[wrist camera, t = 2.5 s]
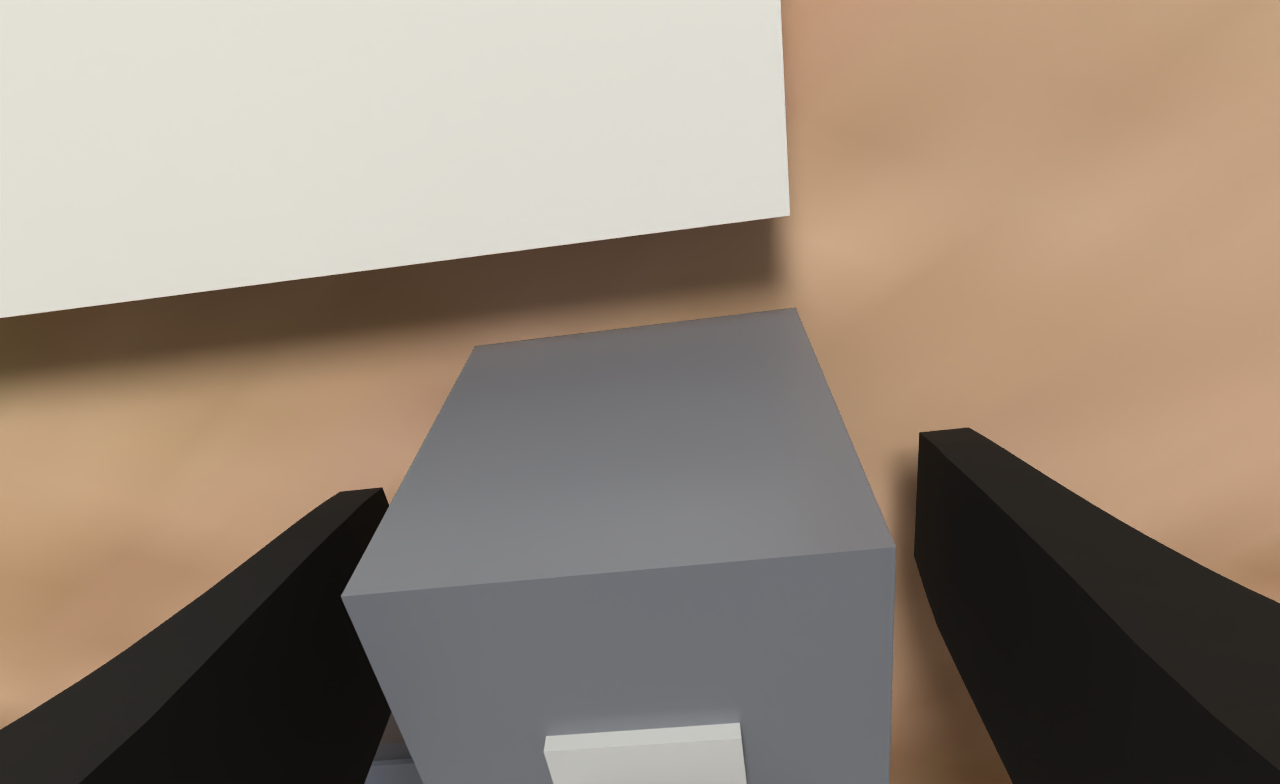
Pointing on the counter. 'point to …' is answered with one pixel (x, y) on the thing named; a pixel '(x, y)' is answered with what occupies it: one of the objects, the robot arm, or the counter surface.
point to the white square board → (367, 135)
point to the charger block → (636, 568)
